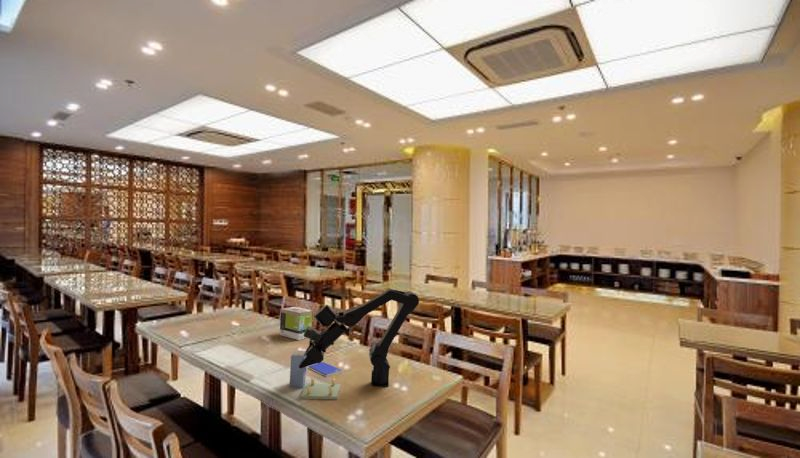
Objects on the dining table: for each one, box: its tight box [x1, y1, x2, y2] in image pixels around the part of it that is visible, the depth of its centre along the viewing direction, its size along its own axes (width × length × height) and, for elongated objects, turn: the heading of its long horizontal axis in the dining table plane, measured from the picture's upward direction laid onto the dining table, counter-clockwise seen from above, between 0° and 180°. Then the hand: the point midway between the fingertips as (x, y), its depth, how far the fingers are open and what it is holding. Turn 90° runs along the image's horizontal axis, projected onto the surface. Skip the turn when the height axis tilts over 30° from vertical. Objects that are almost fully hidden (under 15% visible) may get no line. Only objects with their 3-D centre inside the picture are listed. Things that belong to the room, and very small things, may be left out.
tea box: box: [279, 306, 313, 341], centre depth 214 cm, size 15×10×15 cm
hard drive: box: [308, 361, 343, 378], centre depth 167 cm, size 2×8×12 cm
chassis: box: [300, 377, 341, 400], centre depth 145 cm, size 13×11×4 cm
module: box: [289, 350, 307, 389], centre depth 151 cm, size 5×5×13 cm
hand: (300, 363), depth 151 cm, fingers open, 9 cm apart
